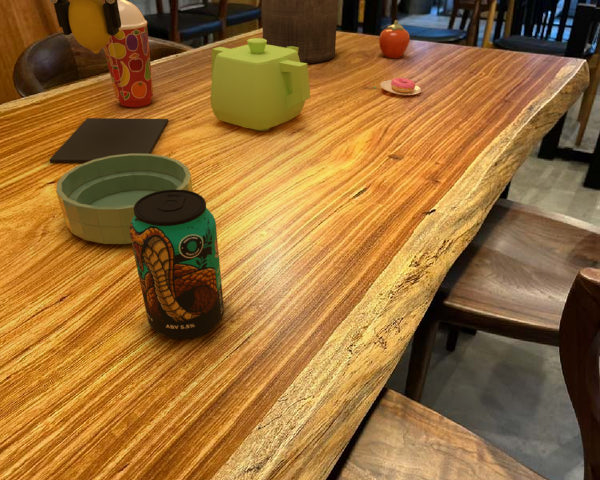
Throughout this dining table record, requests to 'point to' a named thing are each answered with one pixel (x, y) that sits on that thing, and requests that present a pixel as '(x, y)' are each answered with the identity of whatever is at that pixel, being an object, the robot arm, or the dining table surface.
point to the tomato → (394, 41)
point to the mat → (110, 139)
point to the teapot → (258, 84)
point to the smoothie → (130, 58)
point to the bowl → (115, 193)
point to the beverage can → (177, 263)
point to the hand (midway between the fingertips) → (91, 32)
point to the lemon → (88, 24)
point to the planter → (302, 27)
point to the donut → (400, 86)
